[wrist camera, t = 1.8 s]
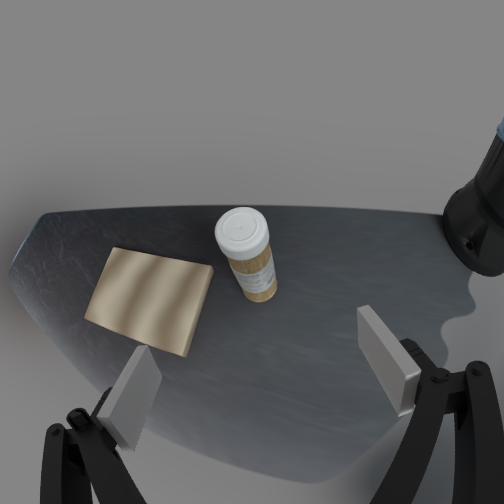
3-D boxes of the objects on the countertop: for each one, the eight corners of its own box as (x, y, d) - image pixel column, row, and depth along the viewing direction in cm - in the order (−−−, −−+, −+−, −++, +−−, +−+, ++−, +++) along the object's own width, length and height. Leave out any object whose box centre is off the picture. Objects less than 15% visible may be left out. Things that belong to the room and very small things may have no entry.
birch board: (214, 270, 37) (211, 265, 36) (186, 357, 32) (181, 355, 31) (118, 251, 42) (113, 247, 40) (89, 321, 36) (83, 318, 35)
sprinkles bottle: (255, 264, 37) (235, 197, 25) (285, 281, 35) (277, 218, 24) (234, 291, 36) (202, 234, 24) (264, 310, 34) (245, 259, 22)
